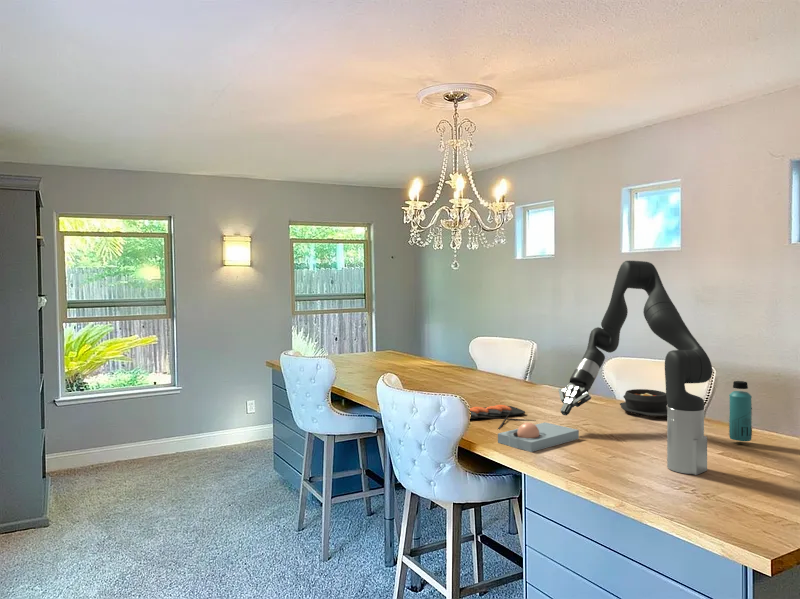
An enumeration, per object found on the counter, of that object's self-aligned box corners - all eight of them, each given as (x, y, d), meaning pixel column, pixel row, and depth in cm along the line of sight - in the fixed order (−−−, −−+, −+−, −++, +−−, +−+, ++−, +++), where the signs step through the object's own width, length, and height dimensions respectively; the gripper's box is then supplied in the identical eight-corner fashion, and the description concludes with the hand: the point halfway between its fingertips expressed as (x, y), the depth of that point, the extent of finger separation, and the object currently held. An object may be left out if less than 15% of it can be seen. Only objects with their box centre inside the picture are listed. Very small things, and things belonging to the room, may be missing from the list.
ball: (539, 423, 188) (525, 438, 186) (546, 437, 191) (532, 452, 189) (524, 415, 193) (510, 429, 191) (531, 428, 197) (517, 443, 195)
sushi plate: (510, 409, 246) (510, 400, 246) (550, 426, 217) (550, 415, 217) (445, 415, 236) (445, 405, 236) (478, 433, 208) (478, 422, 208)
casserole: (687, 419, 223) (687, 397, 222) (641, 421, 220) (641, 399, 220) (650, 406, 247) (650, 386, 247) (608, 407, 245) (608, 387, 244)
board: (578, 438, 197) (578, 429, 197) (530, 452, 182) (530, 442, 182) (545, 430, 208) (545, 422, 208) (497, 442, 194) (497, 433, 193)
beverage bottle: (740, 446, 185) (740, 383, 185) (723, 441, 192) (724, 380, 191) (757, 445, 187) (757, 382, 187) (740, 439, 194) (740, 379, 193)
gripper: (564, 366, 214) (543, 404, 207) (596, 370, 203) (574, 410, 196) (573, 378, 217) (552, 417, 210) (605, 383, 207) (584, 423, 200)
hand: (563, 413), depth 203 cm, fingers closed
